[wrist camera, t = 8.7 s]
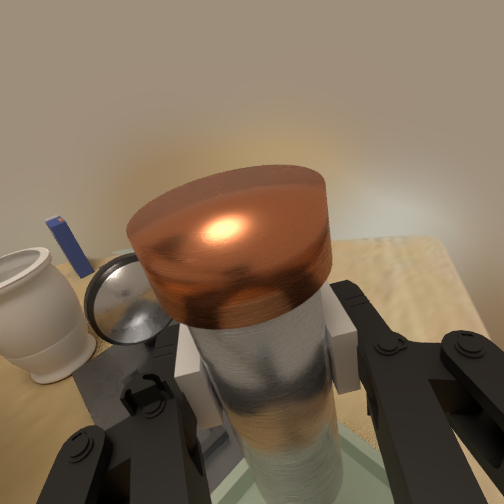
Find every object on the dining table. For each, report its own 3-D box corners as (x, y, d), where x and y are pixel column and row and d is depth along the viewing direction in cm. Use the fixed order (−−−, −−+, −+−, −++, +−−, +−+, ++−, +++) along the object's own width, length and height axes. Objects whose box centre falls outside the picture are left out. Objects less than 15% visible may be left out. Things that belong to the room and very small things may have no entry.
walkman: (94, 271, 63) (64, 219, 57) (80, 278, 62) (49, 226, 56) (84, 261, 69) (56, 212, 63) (72, 267, 68) (42, 218, 62)
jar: (119, 331, 45) (67, 243, 38) (69, 395, 37) (-10, 298, 29) (62, 330, 48) (4, 249, 41) (5, 389, 40) (-82, 300, 32)
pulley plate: (75, 378, 39) (11, 295, 32) (181, 306, 47) (148, 228, 40) (160, 561, 22) (63, 466, 15) (304, 399, 30) (282, 291, 23)
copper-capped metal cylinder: (225, 469, 14) (98, 222, 8) (291, 395, 17) (235, 161, 10) (306, 568, 11) (198, 280, 5) (374, 459, 13) (367, 170, 7)
